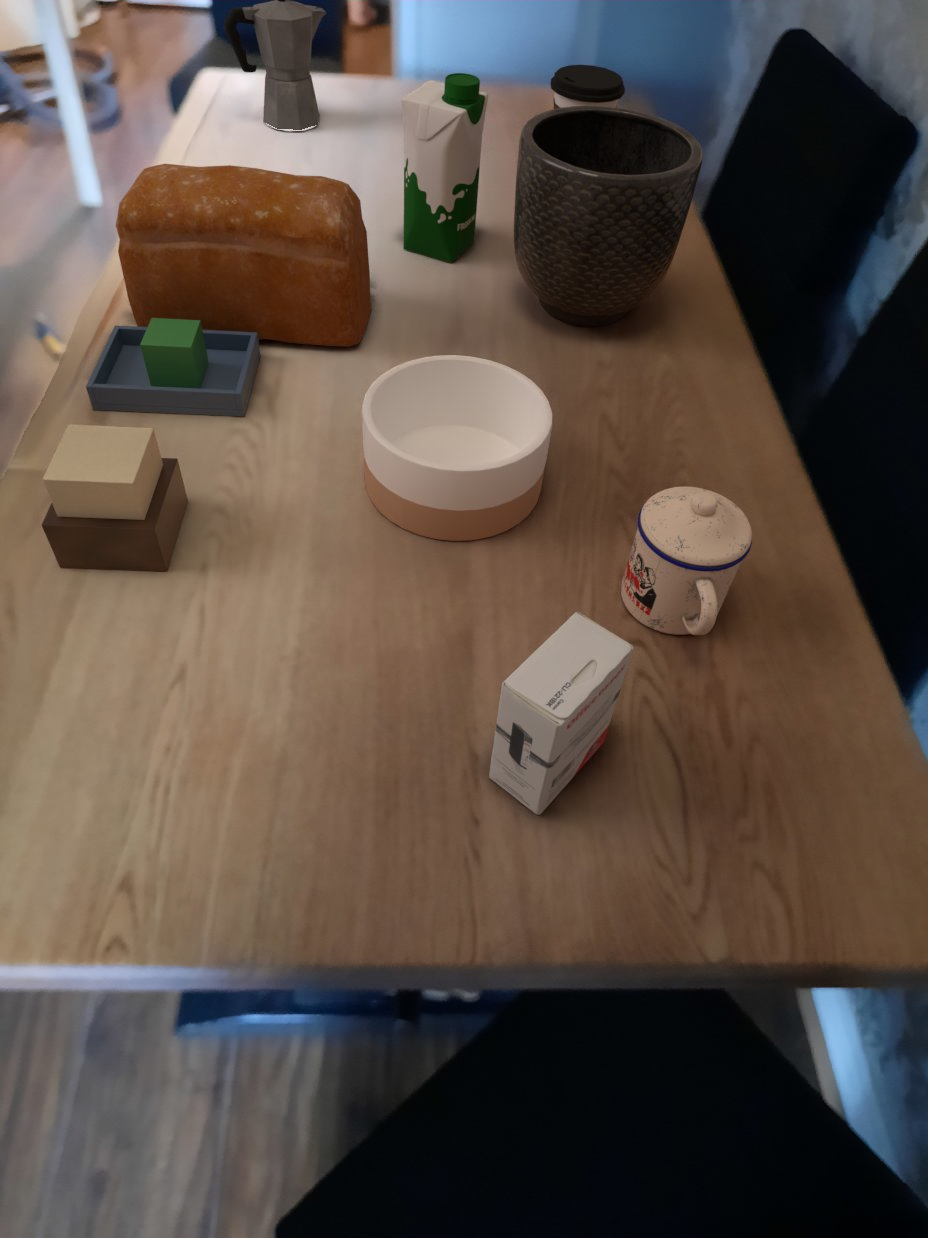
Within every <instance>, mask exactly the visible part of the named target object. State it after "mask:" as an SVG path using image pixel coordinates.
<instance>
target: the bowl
mask: <svg viewBox="0 0 928 1238" xmlns="http://www.w3.org/2000/svg"><path fill="white" fill-rule="evenodd" d="M361 424H362V425H361V426H362V427H361V428H362V449H363V469H364V470H363V471H364V484H365V485H364V487H365V489H366V492H367V495H368V497H369V499H370V501H371V502H372V504H373V505H374V507H375V508H376V509H377V511H378V512H379V513H381V514H382V515H383V516H384V517H385V518H386V519H387V520H388V521H390V522H391V523H393V524H395V525H397V526H398V527H400V528H401V529H402V530H406V531H408V532H410V533H413V534H415V535H418V536H421V537H426V538H431V539H434V540H440V541H451V542H459V541H460V542H461V541H465V542H466V541H477V540H482V539H487V538H491V537H494V536H496V535H499V534H502V533H505V532H507V531H509V530H510V529H513V528H514V527H516V526H517V525H519V524H520V523H521V522H522V521H523V520H525V519H526V518H527V517H528V516H529V515H531V512H532V511H533V509H534V508H535V507H536V505H537V503H538V501H539V497H540V494H541V491H542V485H543V480H544V473H545V468H546V464H547V459H548V454H549V447H550V442H551V436H552V432H553V431H552V429H553V411H552V408H551V405H550V401H549V400H548V398H547V396H546V394H544V392H543V390H542V389H541V388H540V387H539V386H538V385H537V383H535V382H534V381H533V380H531V379H530V378H529V377H527V376H526V375H524V374H523V373H521V372H520V371H518V370H516V369H514V368H513V367H512V368H511V367H510V366H507V365H505V364H503V363H500V362H497V361H494V360H490V359H486V358H481V357H477V356H469V355H458V354H446V355H445V354H443V355H441V354H440V355H439V354H438V355H433V356H432V355H431V356H425V357H420V358H416V359H411V360H408V361H405V362H403V363H400V364H398V365H396V366H393V367H391V368H390V369H388V370H387V371H384V372H383V373H382V374H380V375H379V376H378V377H377V378H376V379H375V380H374V381H373V382H372V383H371V384H370V386H369V388H368V389H367V391H366V393H365V394H364V398H363V401H362V405H361Z"/></svg>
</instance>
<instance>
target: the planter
mask: <svg viewBox="0 0 928 1238" xmlns="http://www.w3.org/2000/svg"><path fill="white" fill-rule="evenodd" d="M518 141H519V142H518V151H517V153H518V155H517V165H516V174H515V175H516V176H515V190H514V191H515V193H514V211H513V212H514V213H513V247H514V255H515V260H516V265H517V267H518V271H519V273H520V275H521V277H522V279H523V281H524V283H525V284H526V285H527V287H528V288H529V289H530V291H531V293H533V294H534V295H535V296H536V298H537V299H538V301H539V303H540V305H541V306H542V308H543V309H544V311H545V312H546V313H547V314H549V315H550V316H551V317H553V318H555V319H556V320H559V321H561V322H563V323H567V324H570V325H574V326H579V327H601V326H608V325H610V324H613V323H615V322H617V321H619V320H620V319H622V318H623V317H624V316H625V314H627V312H629V311H631V310H632V309H634V308H636V307H638V306H639V305H641V304H642V303H644V302H645V301H646V300H648V298H650V297H651V296H652V295H653V294H654V293H655V292H656V291H657V289H658V288H659V287H660V285H661V284H662V282H663V281H664V279H665V277H666V276H667V274H668V271H669V269H670V267H671V266H672V262H673V260H674V258H675V254H676V252H677V249H678V246H679V242H680V240H681V236H682V233H683V230H684V228H685V224H686V221H687V217H688V214H689V212H690V208H691V204H692V201H693V197H694V194H695V190H696V187H697V183H698V179H699V175H700V172H701V170H702V169H701V168H702V165H703V164H702V163H703V149H702V147H701V144H700V142H699V141H698V140H697V138H696V137H694V135H693V134H691V133H690V132H689V131H688V130H686V129H685V128H683V127H682V126H680V125H678V124H676V123H674V122H672V121H669V120H667V119H665V118H662V117H659V116H657V115H653V114H651V113H647V112H642V111H639V110H634V109H630V108H623V107H617V106H616V107H607V106H571V107H563V108H558V109H554V108H552V109H550V110H545V111H544V112H540V113H539V114H537V115H534V116H533V117H532V118H530V119H529V120H527V122H526V123H524V125H523V127H522V130H521V132H520V135H519V139H518Z"/></svg>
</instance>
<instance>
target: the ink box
mask: <svg viewBox="0 0 928 1238" xmlns="http://www.w3.org/2000/svg"><path fill="white" fill-rule="evenodd" d="M633 652H634V646H633V644H631V643H630V642H628V641H626V640H625V639H623V638H621V637H619V636H618V635H617V634H615V633H613V632H611V630H608V629H607V628H605V627H604V626H602V625H600V624H599V623H597V622H595V621H594V620H592V619H591V618H590V617H587V616H586V615H584V614H582V613H581V612H579V611H575V612H574V613H573V614H572V615H571V616H570V617H568V619H566V621H565V622H564V623H563V624H562V625H561V626H559V627H558V629H556V630H555V631H554V633H552V634H551V635H550V636H549V637H548V638H546V640H545V641H544V642H543V643H542V644H541V645H540V646H539V647H538V648H537V649H536V650H535V651H534V652H533V653H532V654H530V655H529V656H528V657H527V658H526V659H525V660H524V661H523V662H522V663H521V664H520V665H519V666H518V667H517V668H516V669H515V670H514V671H513V672H512V673H511V674H510V675H509V676H507V678H505V680H503V681H502V683H501V688H500V689H501V690H500V694H499V695H500V697H499V703H498V709H497V716H496V723H495V731H494V737H493V738H494V739H493V745H492V752H491V760H490V767H489V773H488V778H489V779H490V780H491V781H493V782H494V783H495V784H497V786H499V787H500V788H502V789H503V790H505V791H506V792H507V793H508V794H510V795H511V796H512V797H513V798H514V799H516V800H517V801H518V802H520V804H522V805H524V806H525V807H526V808H527V809H529V810H530V811H531V812H533V814H534V815H538V816H539V815H541V814H543V812H544V811H545V810H546V809H547V808H548V806H550V804H552V802H553V801H554V800H555V799H556V798H557V796H558V795H559V794H560V793H561V792H562V791H563V790H564V788H566V786H568V784H569V783H570V782H571V780H572V779H573V778H574V777H575V776H576V775H577V774H578V773H579V771H580V770H581V769H582V768H583V767H584V766H585V765H586V764H587V762H588V761H589V760H590V759H591V758H592V757H593V755H595V753H596V752H597V751H598V749H600V748H601V747H602V745H603V744H604V743H605V739H606V737H607V733H608V731H609V727H610V724H611V721H612V718H613V714H614V712H615V708H616V706H617V703H618V698H619V696H620V693H621V689H622V686H623V683H624V680H625V677H626V675H627V671H628V668H629V665H630V661H631V657H632V656H633Z"/></svg>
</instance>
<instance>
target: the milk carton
mask: <svg viewBox="0 0 928 1238" xmlns="http://www.w3.org/2000/svg"><path fill="white" fill-rule="evenodd" d="M480 80H481V79H480V78H479V77H477V76H476V75H474V74H471V73H464V72H455V73H454V72H453V73H450V74H447V75H446V76H445V78H444V82H440V81H437V80H433V79H429V80H427V81H426V82H424V83H423V84H421V85H419V86H418V87H417V88H415V89H414V90H411V92H409V93H407V94H406V95H405V96H403V97H401V98H400V101H401V102H400V103H401V110H402V121H403V136H404V137H403V138H404V140H403V148H404V149H403V250H405V251H408V252H412V253H415V254H418V255H422V256H425V257H428V258H432V259H436V260H439V261H442V262H446V263H450V264H453V263H454V262H455V261H456V260H457V259H458V258H459V257H460V256H461V255H462V254H463V253H464V252H465V251H466V250H467V249H468V248H469V247H470V246H471V245H472V244H473V243H474V242H475V235H476V222H477V210H478V195H479V182H480V170H481V169H480V167H481V157H482V156H481V154H482V141H483V132H484V127H485V126H484V125H485V120H486V112H487V107H488V101H489V93H488V92H486V91H483V90H482V91H480V87H481V85H480V84H481V81H480Z"/></svg>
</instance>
